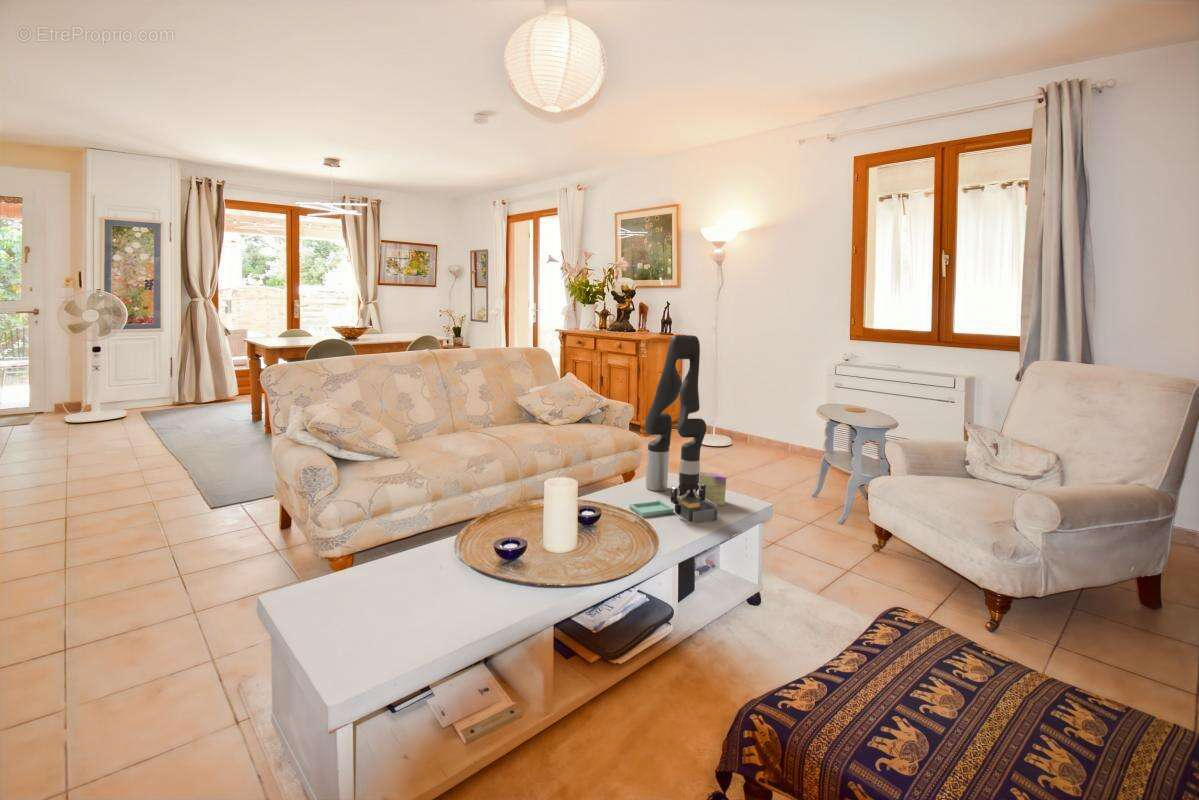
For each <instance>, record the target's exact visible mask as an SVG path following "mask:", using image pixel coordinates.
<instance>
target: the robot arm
mask: <svg viewBox="0 0 1199 800" xmlns="http://www.w3.org/2000/svg"><path fill="white" fill-rule="evenodd" d="M700 347H701V345H700V340H699V338H698V336H696V335H691V334H690V335H689V334H687V335H686V334H674V335H672V336H671V338H670V340H669V344H668V346H667V351H666V357H665V361H664V366H663V369H662V373H661V375H660V377H659V380H658V381H659V382H658V384H657V387H656V390H655V394H654V398H653V401H652V403H651V406H650V408H649V410H648V413H647V414H646V417H645V422H644V430H645V432H646V433H647V434H648V435H651V436H657V435H659V436H658V437H657V438H656V439H654V440H651V441H650V442H649V443H648V444H647V464H646V471H645V487H646V489H647V490H650V491H655V492H661V491H662V492H663V491H666V490H668V482H669V481H668V480H669V479H668V478H669V462H670V446H671V439H672V438H671V436H672V428H673V422H672V421H673V419H672V415H670V413H666V412H663V411H665V410H666V409H667V408H669V407H670V406H671V405H672V404H673V403H674V402H676V401H677V399H678V397H679V401H680V412H679V418H678V422H677V433H678V435H679V436H680V437H681V438H692V440H690V441H689V442H685V443H683V444H682V445H681V446H680V447H681V448H680V461H679V474H678V483H679V485H678V487H674V486H672V487H670V489H671V490H670V502H671V503H672V504H673V505H674V512H675V514H676V513H677V514H676V515H677V516H679V514H681V505H680V504H681V503H682V501H683V500H684V499H685V498H688V497H694V498H696V499H697V500H699V501H700V502H701V501H702V500H703V501H704V500H705V489H706V486H705V485H703V484H700V485H699V477H700V472H701V470H700V468H701V463H700V460H701V448H702V445H703V441H704V439H705V435H706V433H707V424H706V421H705V420H704V419H703V418H689V415H690V414H694V413H697V412H699V410H700V396H699V395H700V394H699V393H700V392H699V377H700V376H699V375H700V374H699V373H700V360H701V359H700V357H701V348H700ZM678 360H689V368H688V371H687V373H686V376H685V377H684V379H683V381H682V378H681V376H680V373H679V372H678V370H677V367H676V364H677V361H678ZM698 492H699V495H698ZM681 495H682V497H681ZM699 509H700V507H699Z"/></svg>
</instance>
